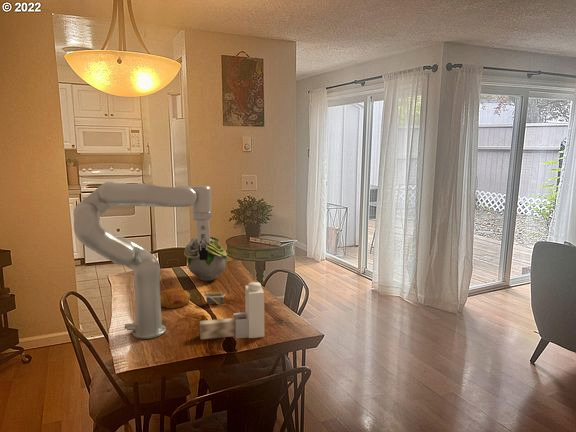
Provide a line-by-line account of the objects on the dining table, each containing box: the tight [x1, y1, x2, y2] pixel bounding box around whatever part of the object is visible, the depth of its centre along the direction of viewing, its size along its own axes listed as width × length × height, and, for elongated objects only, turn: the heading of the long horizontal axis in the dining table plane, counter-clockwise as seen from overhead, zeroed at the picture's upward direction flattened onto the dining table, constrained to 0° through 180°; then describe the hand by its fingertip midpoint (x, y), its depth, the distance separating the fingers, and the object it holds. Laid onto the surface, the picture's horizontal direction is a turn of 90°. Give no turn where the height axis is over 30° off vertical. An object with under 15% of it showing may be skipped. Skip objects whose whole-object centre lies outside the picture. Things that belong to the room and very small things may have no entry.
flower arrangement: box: [183, 236, 228, 282], centre depth 234 cm, size 25×25×24 cm
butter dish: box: [203, 290, 226, 306], centre depth 197 cm, size 12×18×7 cm, turn 93°
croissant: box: [160, 287, 191, 309], centre depth 198 cm, size 14×16×8 cm
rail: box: [199, 317, 246, 340], centre depth 164 cm, size 18×4×6 cm, turn 103°
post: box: [233, 281, 265, 339], centre depth 166 cm, size 11×10×20 cm
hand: (203, 256), depth 173 cm, fingers open, 9 cm apart
